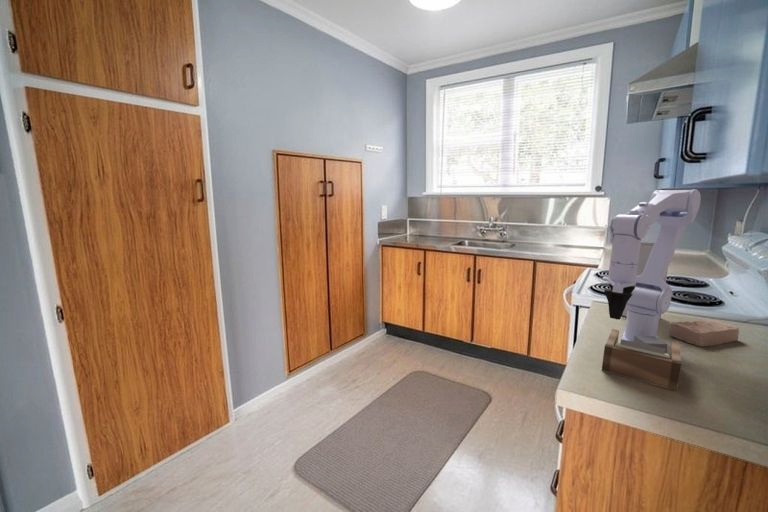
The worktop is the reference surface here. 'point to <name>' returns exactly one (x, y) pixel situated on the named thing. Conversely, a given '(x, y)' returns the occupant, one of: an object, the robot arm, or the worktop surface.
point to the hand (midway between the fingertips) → (616, 314)
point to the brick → (704, 332)
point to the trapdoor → (642, 348)
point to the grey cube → (651, 341)
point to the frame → (642, 364)
